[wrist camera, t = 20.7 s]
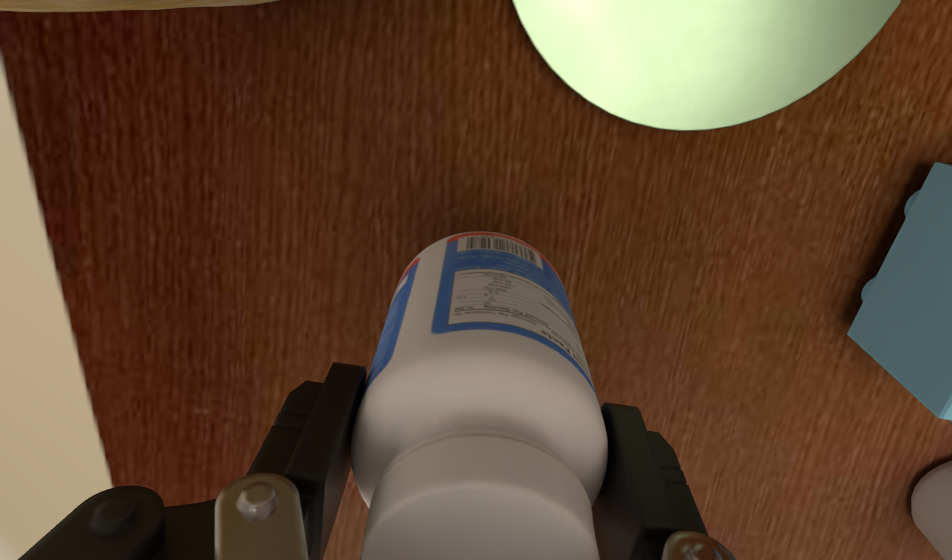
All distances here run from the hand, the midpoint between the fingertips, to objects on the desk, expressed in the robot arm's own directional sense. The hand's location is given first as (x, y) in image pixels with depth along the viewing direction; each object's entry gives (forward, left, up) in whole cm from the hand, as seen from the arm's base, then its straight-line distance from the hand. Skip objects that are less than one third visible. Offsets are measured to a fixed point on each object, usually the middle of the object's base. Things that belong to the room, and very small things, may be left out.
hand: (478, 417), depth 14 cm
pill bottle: (0, 0, -6) cm, 6 cm away
